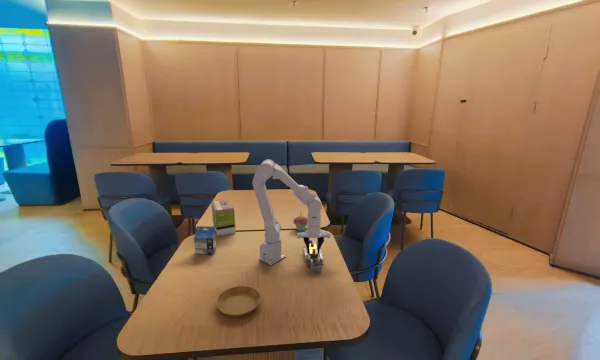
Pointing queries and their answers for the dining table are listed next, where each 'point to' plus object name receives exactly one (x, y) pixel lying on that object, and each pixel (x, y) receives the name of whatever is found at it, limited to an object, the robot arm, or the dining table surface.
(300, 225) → the cupcake
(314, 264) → the chain
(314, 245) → the brass link
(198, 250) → the blue and white carton
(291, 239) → the dining table surface
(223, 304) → the plant saucer
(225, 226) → the tea box
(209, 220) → the dining table surface
